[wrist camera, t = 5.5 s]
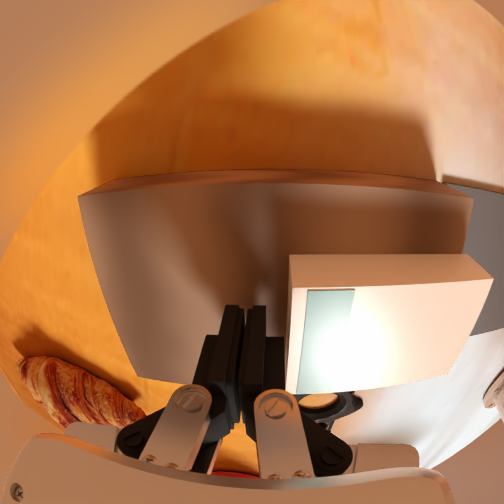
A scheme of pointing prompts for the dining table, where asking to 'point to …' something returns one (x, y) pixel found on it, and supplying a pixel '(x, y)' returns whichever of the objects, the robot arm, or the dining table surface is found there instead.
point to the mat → (487, 251)
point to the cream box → (378, 318)
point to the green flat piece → (332, 408)
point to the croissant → (75, 393)
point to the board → (243, 246)
